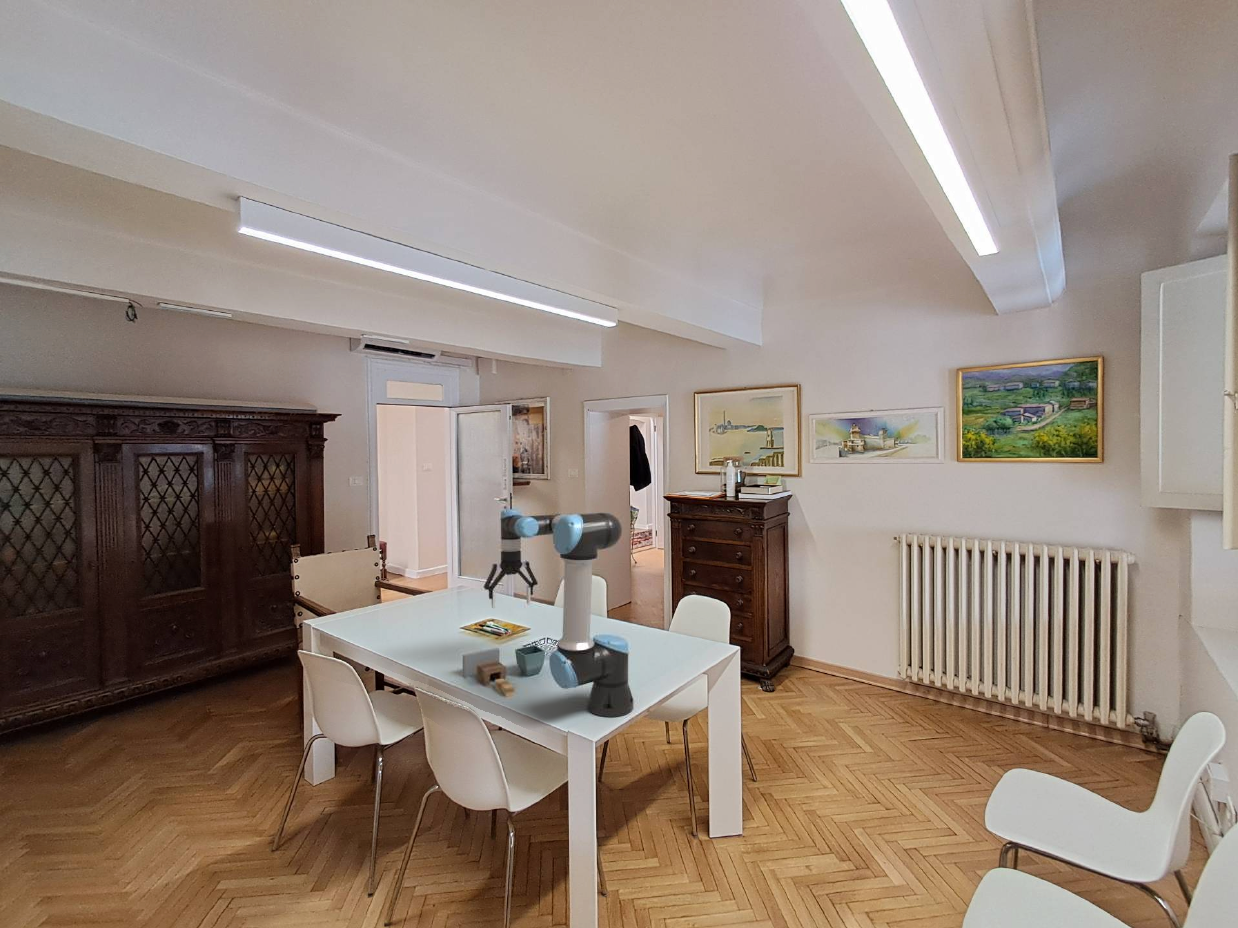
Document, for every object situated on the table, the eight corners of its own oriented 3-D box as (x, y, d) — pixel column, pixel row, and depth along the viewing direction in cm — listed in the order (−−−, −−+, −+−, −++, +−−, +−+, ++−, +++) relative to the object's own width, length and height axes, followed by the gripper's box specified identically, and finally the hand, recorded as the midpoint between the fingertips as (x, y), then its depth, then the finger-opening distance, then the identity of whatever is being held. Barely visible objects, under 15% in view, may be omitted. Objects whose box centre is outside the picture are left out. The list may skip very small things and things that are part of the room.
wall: (499, 669, 222) (499, 649, 222) (464, 677, 214) (464, 656, 214) (497, 668, 224) (497, 647, 224) (462, 675, 216) (462, 654, 216)
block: (505, 681, 210) (505, 666, 210) (484, 686, 206) (484, 670, 206) (496, 674, 217) (496, 660, 217) (476, 679, 212) (476, 664, 212)
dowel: (514, 695, 198) (514, 686, 198) (506, 697, 196) (506, 688, 196) (502, 686, 206) (502, 677, 206) (494, 688, 205) (494, 679, 205)
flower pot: (524, 679, 212) (524, 655, 212) (514, 672, 219) (514, 649, 219) (545, 674, 217) (545, 650, 217) (534, 667, 224) (534, 644, 224)
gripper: (539, 546, 226) (540, 600, 226) (475, 550, 215) (476, 606, 215) (545, 548, 219) (545, 604, 219) (479, 553, 208) (480, 611, 208)
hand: (511, 605), depth 217 cm, fingers open, 13 cm apart
